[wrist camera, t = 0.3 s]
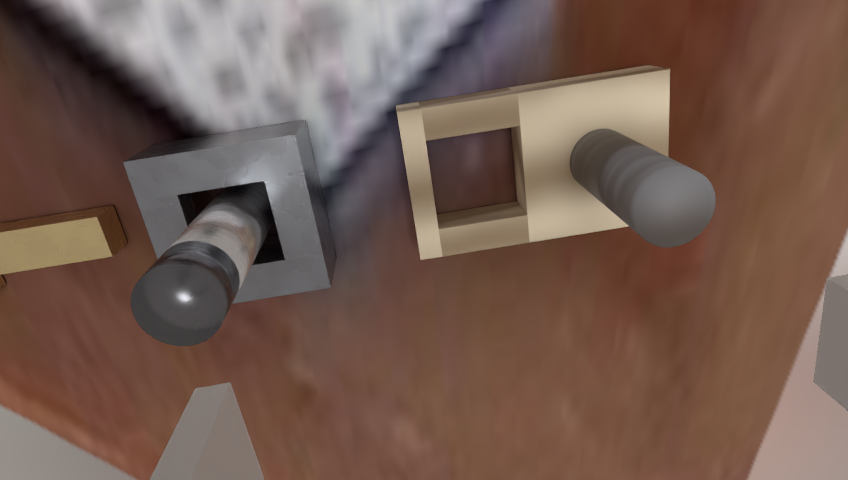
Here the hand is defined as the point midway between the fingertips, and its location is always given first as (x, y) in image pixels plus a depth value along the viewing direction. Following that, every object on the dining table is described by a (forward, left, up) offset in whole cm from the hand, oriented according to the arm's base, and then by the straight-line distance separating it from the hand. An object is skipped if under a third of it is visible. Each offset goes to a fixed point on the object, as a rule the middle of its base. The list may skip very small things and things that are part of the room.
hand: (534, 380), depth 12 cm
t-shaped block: (+3, -28, -28) cm, 39 cm away
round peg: (+3, -13, -28) cm, 31 cm away
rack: (+3, +6, -28) cm, 28 cm away
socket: (+3, -13, -28) cm, 31 cm away
